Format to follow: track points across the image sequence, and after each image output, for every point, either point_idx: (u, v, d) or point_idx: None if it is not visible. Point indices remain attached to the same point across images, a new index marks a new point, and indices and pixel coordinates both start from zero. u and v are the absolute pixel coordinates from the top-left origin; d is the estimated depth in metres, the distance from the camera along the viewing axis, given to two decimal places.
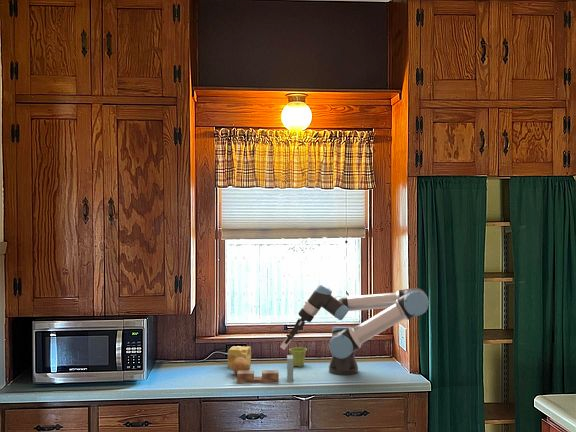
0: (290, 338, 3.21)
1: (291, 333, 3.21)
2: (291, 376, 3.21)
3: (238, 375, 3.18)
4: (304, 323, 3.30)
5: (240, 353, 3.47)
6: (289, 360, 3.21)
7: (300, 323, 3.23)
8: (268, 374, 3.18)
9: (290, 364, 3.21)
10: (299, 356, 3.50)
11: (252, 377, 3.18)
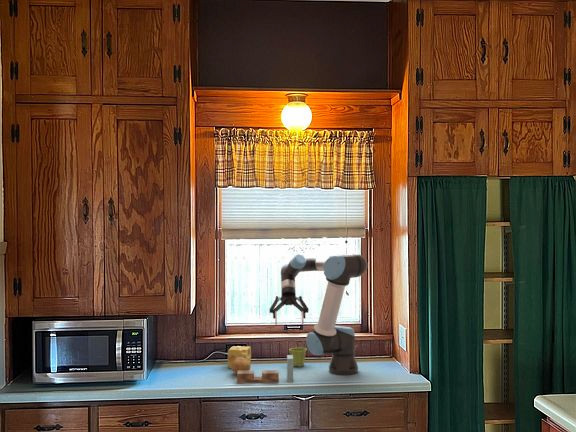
0: (270, 311, 3.41)
1: None
2: (291, 376, 3.21)
3: (238, 375, 3.18)
4: (290, 297, 3.46)
5: (240, 353, 3.47)
6: (289, 360, 3.21)
7: None
8: (268, 374, 3.18)
9: (290, 364, 3.21)
10: (299, 356, 3.50)
11: (252, 377, 3.18)
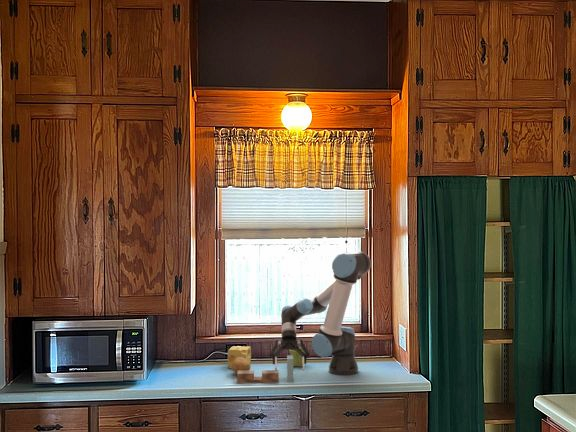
0: (270, 356, 3.29)
1: None
2: (291, 376, 3.21)
3: (238, 375, 3.18)
4: (290, 341, 3.34)
5: (240, 353, 3.47)
6: (289, 360, 3.21)
7: None
8: (268, 374, 3.18)
9: (290, 364, 3.21)
10: (299, 356, 3.50)
11: (252, 377, 3.18)
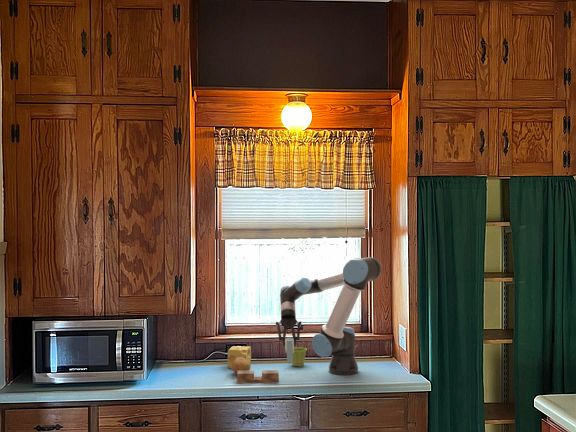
0: (280, 338, 3.27)
1: None
2: (291, 358, 3.20)
3: (238, 375, 3.18)
4: (290, 319, 3.34)
5: (240, 353, 3.47)
6: (288, 342, 3.20)
7: (276, 325, 3.33)
8: (268, 374, 3.18)
9: (289, 346, 3.20)
10: (299, 356, 3.50)
11: (252, 377, 3.18)
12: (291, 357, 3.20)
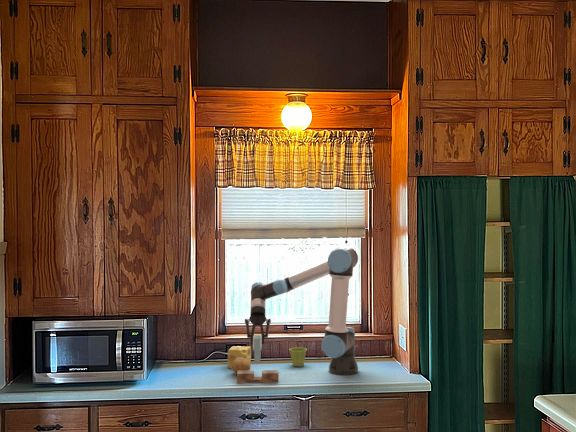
0: (248, 336, 3.23)
1: (247, 333, 3.25)
2: (258, 356, 3.16)
3: (238, 375, 3.18)
4: (259, 317, 3.30)
5: (240, 353, 3.47)
6: (256, 340, 3.16)
7: (245, 322, 3.29)
8: (268, 374, 3.18)
9: (257, 344, 3.16)
10: (299, 356, 3.50)
11: (252, 377, 3.18)
12: (258, 355, 3.17)
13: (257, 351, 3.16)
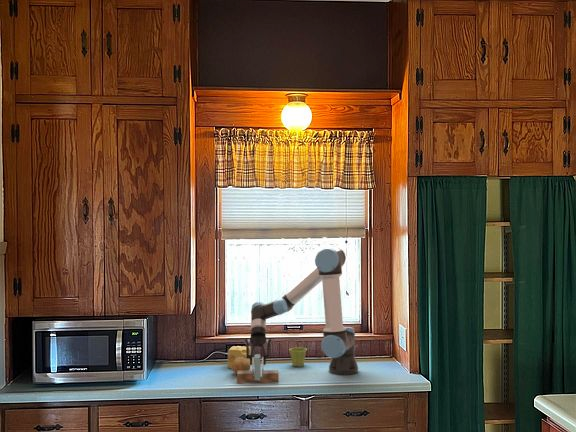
0: (247, 356, 3.23)
1: (246, 354, 3.25)
2: (258, 375, 3.17)
3: (238, 375, 3.18)
4: (260, 337, 3.30)
5: (240, 353, 3.47)
6: (256, 359, 3.17)
7: (245, 342, 3.30)
8: (268, 374, 3.18)
9: (257, 363, 3.17)
10: (299, 356, 3.50)
11: (252, 377, 3.18)
12: (258, 374, 3.17)
13: (257, 370, 3.17)
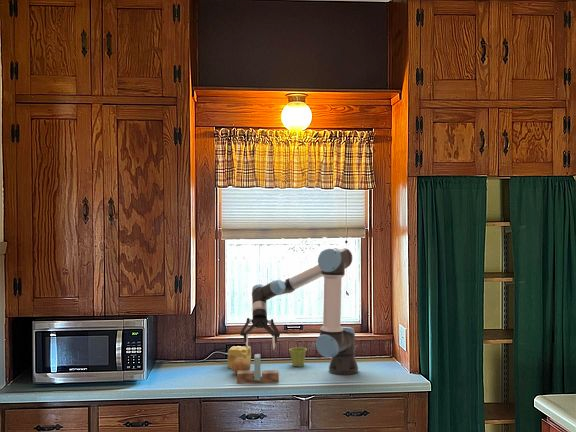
0: (241, 334, 3.33)
1: None
2: (258, 375, 3.17)
3: (238, 375, 3.18)
4: (261, 320, 3.38)
5: (240, 353, 3.47)
6: (256, 359, 3.17)
7: None
8: (268, 374, 3.18)
9: (257, 363, 3.17)
10: (299, 356, 3.50)
11: (252, 377, 3.18)
12: (258, 374, 3.17)
13: (257, 370, 3.17)
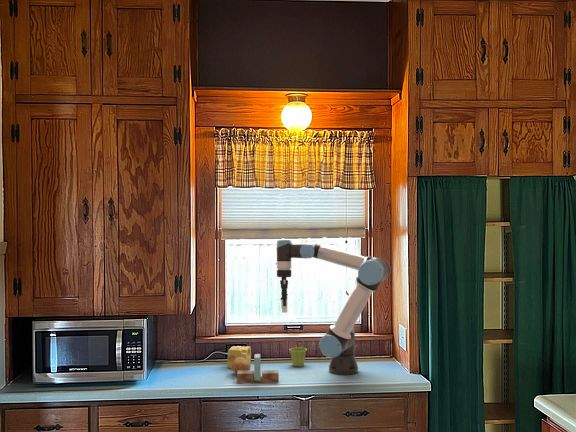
0: (285, 298, 3.30)
1: (283, 294, 3.30)
2: (258, 375, 3.17)
3: (238, 375, 3.18)
4: (287, 280, 3.40)
5: (240, 353, 3.47)
6: (256, 359, 3.17)
7: (284, 281, 3.32)
8: (268, 374, 3.18)
9: (257, 363, 3.17)
10: (299, 356, 3.50)
11: (252, 377, 3.18)
12: (258, 374, 3.17)
13: (257, 370, 3.17)
